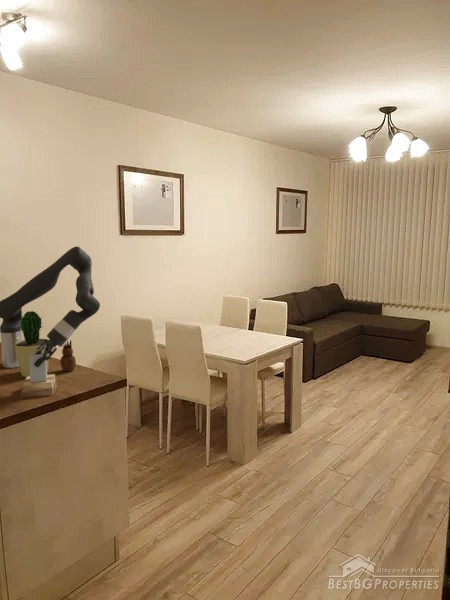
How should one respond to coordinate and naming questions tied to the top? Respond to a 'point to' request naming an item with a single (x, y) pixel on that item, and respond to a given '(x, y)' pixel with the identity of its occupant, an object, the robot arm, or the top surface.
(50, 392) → the tower base
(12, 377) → the top surface
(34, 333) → the potted cactus
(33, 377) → the block
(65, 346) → the wooden figurine
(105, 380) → the top surface
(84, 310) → the robot arm
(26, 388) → the tower top
